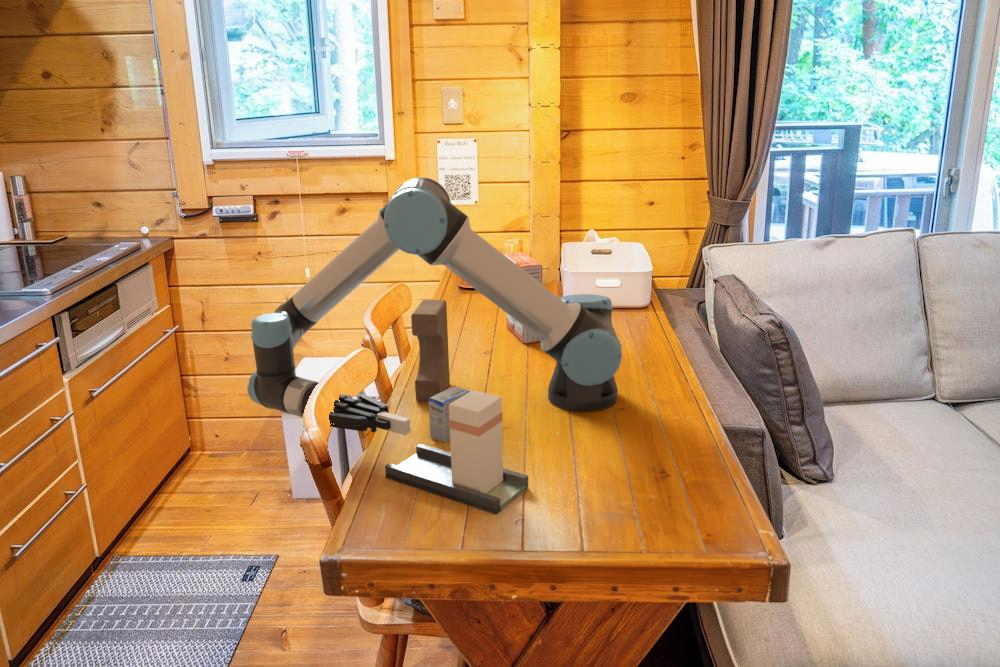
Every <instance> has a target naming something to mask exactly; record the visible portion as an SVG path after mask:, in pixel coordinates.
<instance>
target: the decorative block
mask: <svg viewBox="0 0 1000 667" xmlns="http://www.w3.org/2000/svg"><path fill="white" fill-rule="evenodd" d="M447 308H448V307H447V301H446V300H444V299H422V301H421V302H420V303H419V304H418V306H417V307H416V309H415V310H414V311H413V312H412V314H411V315H410V317H411V318H410V319H411V333H412V335H413V336H415V337H417V340H418V348H419V361H418V369H417V374H416V377H415V379H414V390H415V391H414V392H415V400H416V401H417V402H429V398H430V397H432V396H434V395H436V394H438V393H441V392H443V391H445V390H447V389H448V386H449V384H450V383H451V382H450V379H451V378H450V360H449V359H450V358H449V354H450V353H449V336H448V332H449V330H448V312H447V310H448V309H447Z"/></svg>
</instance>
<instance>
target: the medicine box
mask: <svg viewBox="0 0 1000 667" xmlns="http://www.w3.org/2000/svg"><path fill="white" fill-rule="evenodd" d="M470 391H471V390H469V389H466V388H464V387H459V386H455V385H454V386H452V387H450V388H446V390H445V391H443V392H441V393H438V394H436V395H434V396H432V397H430V398H429V401H428V415H429V417H428V418H429V433H430V434H429V435H430V437H431V438H432V437H433V438H432V439H435V440H437V441H439V440H440V442H442V441H443V443H448V442H450V441H449V440H450V428H449V404H450V403H452V402H454V401H455V400H457V399H459V398H460V397H462V396H464V395H465V394H467V393H469V392H470Z"/></svg>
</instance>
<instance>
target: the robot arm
mask: <svg viewBox="0 0 1000 667" xmlns="http://www.w3.org/2000/svg"><path fill="white" fill-rule="evenodd" d="M400 250H401V251H402V252H404V253H407V254H409V255H410V254H411V255H413V256H414V255H415V256H418V257H419V258H421V259H422V260H423V261H424V262H426V263H427V264H429V265H430V266H431V267H434V266H440V265H441V266H444V267H445V268H447V269H448V270H450V271H451V272H452V273H453V274H454V275H455V276H457V277H458V278H460V279H461V280H462V281H464V282H465V283H466V284H468V285H469V286H471V288H473V289H475V290H476V291H477V292H479V293H480V294H481V295H482V296H484V297H485V298H486V299H488V300H489V301H490V302H492V304H495V306H497V307H498V308H499V309H501V310H502V311H503V312H505V314H506V313H507V314H508V315H510V316H511V317H512V318H514V319H515V320H516V321H518V322H519V323H520V324H522V325H523V326H524V327H526V328H527V329H528V330H529V331H531V332H532V333H533V334H535V335H536V336H537V337H539V338H540V340H541V342H540V348H541V350H542V351H543V352H544V353H546V354H547V355H548V356H550V357H551V358H552V359H553V360H554V361H556V362H555V366H554V370H553V372H552V375H551V379H550V381H549V383H548V389H547V391H548V392H547V398H548V401H549V402H550V403H552V404H553V405H554V406H556V407H558V408H561V409H565V410H570V411H576V412H594V411H600V410H604V409H607V408H610V407H611V406H613V405H614V404H616V403H617V401H618V397H619V396H618V395H619V394H618V392H619V390H618V385H617V382H616V379H615V376H614V375H615V374H616V373H617V372H618V371H619V369H620V366H621V363H622V358H623V354H622V344H621V342H620V339H619V338H618V335H617V334H616V330H615V328H614V326H613V323H612V322H613V321H612V315H613V314H612V313H613V310H614V309H613V304H612V300H611V299H610V298H609V297H608V296H604V295H602V294H590V293H589V294H588V293H587V294H586V293H585V294H583V293H582V294H568V295H563V296H562V297H558V296H557V295H556V294H555V293H553V292H552V291H551V290H549V288H548V287H547V286H545V285H543V283H542V284H541V283H539V282H538V281H537V280H536V279H534V278H533V277H532V276H530V275H529V274H528V273H527V272H525V271H524V270H523V269H521V268H520V267H519V266H518V265H516V264H515V263H514V262H512V261H511V260H510V259H509V258H507V257H506V256H505V254H503V253H502V252H501V251H500V250H498V249H497V247H495V246H493V245H492V244H491V243H489V242H488V241H487V240H486V239H485V238H483V237H482V236H480V235H479V234H478V233H477V232H475V231H474V229H472V227H471V224H470V218H469V216H468V215H467V214H466V213H464V212H463V211H462V210H461V209H459V208H458V207H457V206H455V205H454V204H453V203H452V202H451V198H450V196H449V194H448V192H447V190H446V189H445V187H444V186H443V185H441V184H440V183H439V182H438V181H436V180H434V179H432V178H428V177H419V176H418V177H414V178H410V179H408V180H406V181H405V182H403V183H402V184H401V185H400V186H399V187H398V188H397V189H396V190H395V192H394V194H393V195H392V196H391V197H390V198H389V201H388V202H387V203H385V205H384V206H383V207H381V208H380V209H379V210H378V217H377V219H376V220H375V221H374V222H372V224H370V225H369V226H368V227H367V228H366V229H364V231H362V233H360V235H358V236H357V237H356V238H355V239H353V241H352V242H350V243H349V244H348V245H347V246H346V247H345V248H344V249H342V250H341V252H339V254H337V255H336V256H335V257H334V258H332V260H330V262H328V263H327V264H326V265H325V266H324V267H323V268H321V270H320V271H319V272H317V273H316V274H315V275H314V276H313V277H312V278H311V279H310V280H308V281H307V282H306V283H305V284H304V285H302V287H301V288H300V289H299V290H297V291H296V292H295V293H294V294H293V296H291V297H290V298H289V299H288V300H286V301H285V302H284V303H282V304H280V305H279V306H278V307H277V308H276V309H275V310H274V312H268V313H263V314H260V315H258V316H256V317H254V318H253V319H252V321H251V323H250V324H251V334H250V336H251V342H252V345H253V354H254V362H255V367H256V370H255V371H254V372H253V373H252V374H251V376H250V377H249V379H248V385H247V386H246V388H247V394H248V396H249V398H250V400H251V401H252V402H253V403H255V404H258V405H260V406H263V407H264V408H266V409H269V410H275V411H279V412H280V411H281V412H284V413H286V414H290V415H292V416H293V415H294V416H297V417H300V418H302V419H304V418H303V413H304V409H305V406H306V404H307V401H308V399H309V396H310V395H311V393H312V391H313V389H314V388H315V386H316V385H317V384H318V382H319V381H315V380H311V379H306V378H303V377H300V376H297V373H296V364H295V354H294V353H295V352H294V349H295V347H296V345H297V344H298V343H299V341H300V340H301V339H302V337H303V336H304V335H305V334H306V333H307V332H308V331H309V330H310V329H312V328H313V327H314V326H315V325H316V324H317V323H318V322H319V321H320V320H322V318H324V317H325V316H326V315H327V314H328V313H329V312H331V310H333V309H334V308H335V307H336V306H337V305H338V304H339V303H341V302H342V301H343V300H344V299H345V298H347V296H349V295H350V294H351V293H352V292H353V291H354V290H356V288H358V287H359V286H360V285H361V284H363V282H364V281H366V280H367V279H368V278H369V277H370V276H371V275H373V274H374V273H375V272H376V271H377V270H378V269H380V268H381V267H382V266H383V265H384V264H385V263H386V262H387V261H388V260H390V259H391V258H392V257H393V256H395V254H396V253H397V252H399V251H400ZM339 400H340V402H339V401H338V400H335V402H334V406H335V407H334V409H333V410H334V413H333V412H330V414H329V420H330V424H331V423H332V424H331V425H330V427H329V428H336V429H343V430H351V431H356V432H358V431H359V432H366V431H368V429H370V432H371V433H376V432H377V431H378V430H377V429H380V430H384V431H390V432H393V433H395V434H399V435H403V436H407V435H408V434H410V433H411V422H410V418H408V417H404V416H400V415H397V414H395V413H390V412H389V405H388V404H386V403H384V402H382V401H381V400H380V401H379V400H377V399H376V398H373V397H371V396H369V395H367V394H366V392H364V391H359V392H358V394H357V396H352V395H350V394H342V395H339ZM333 423H334V425H333ZM331 426H332V427H331Z"/></svg>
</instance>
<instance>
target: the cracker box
mask: <svg viewBox="0 0 1000 667" xmlns="http://www.w3.org/2000/svg"><path fill="white" fill-rule="evenodd" d="M504 255H505V256H506V257H507V258H509V259H510V260H511V261H512V262H514V263H515V264H516V265H518V266H519V267H520V268H521V269H523V270H524V271H525V272H527V273H528V274H529V275H530V276H532V277H533V278H534V279H536V280H537V281H538V282H539V283H541V284H542V285H543V264H541V263H539V261H538V260H536V259H534V258H533V257H531V256H530V255H528V254H527V252H524V251H523V252H513V253H512V252H511V253H510V252H509V253H505V254H504ZM505 315H506V316H505V317H506V319H505V320H506V321H505V322H506V324H505V325H506V328H507V329H508V330H509V331H510V333H512V334H513V335H514V336H515V338H517V340H518V341H519V342H520V343H522V344H523V345H526V344H527V345H528V344H532V343H541V340H540V338H539V337H537V336H536V335H535V334H533V333H532V332H531V331H529V330H528V329H527V328H526V327H524V326H523V325H522V324H520V323H519V322H518V321H516V320H515V319H514V318H512V317H511V316H510V315H508V314H507V313H506V312H505Z"/></svg>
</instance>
